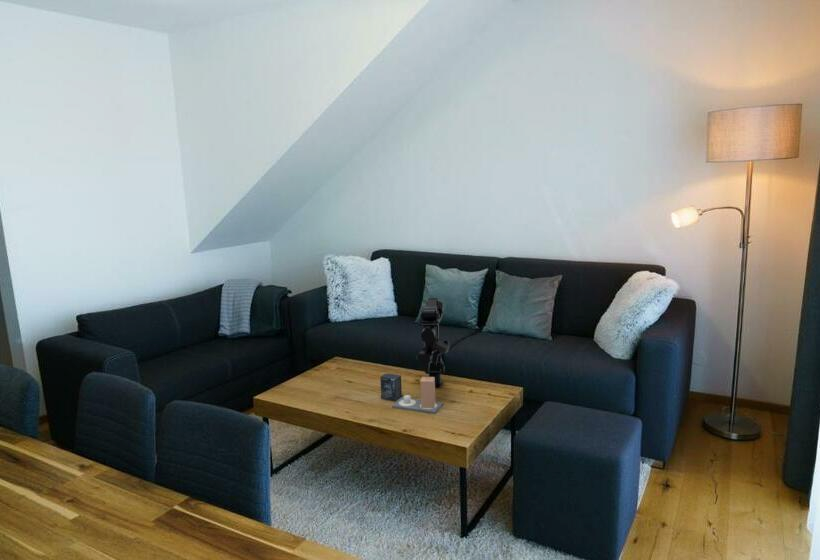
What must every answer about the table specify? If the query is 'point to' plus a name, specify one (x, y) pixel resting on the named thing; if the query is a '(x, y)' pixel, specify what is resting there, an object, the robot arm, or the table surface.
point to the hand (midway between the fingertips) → (431, 369)
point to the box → (391, 387)
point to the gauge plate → (415, 405)
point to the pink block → (427, 392)
